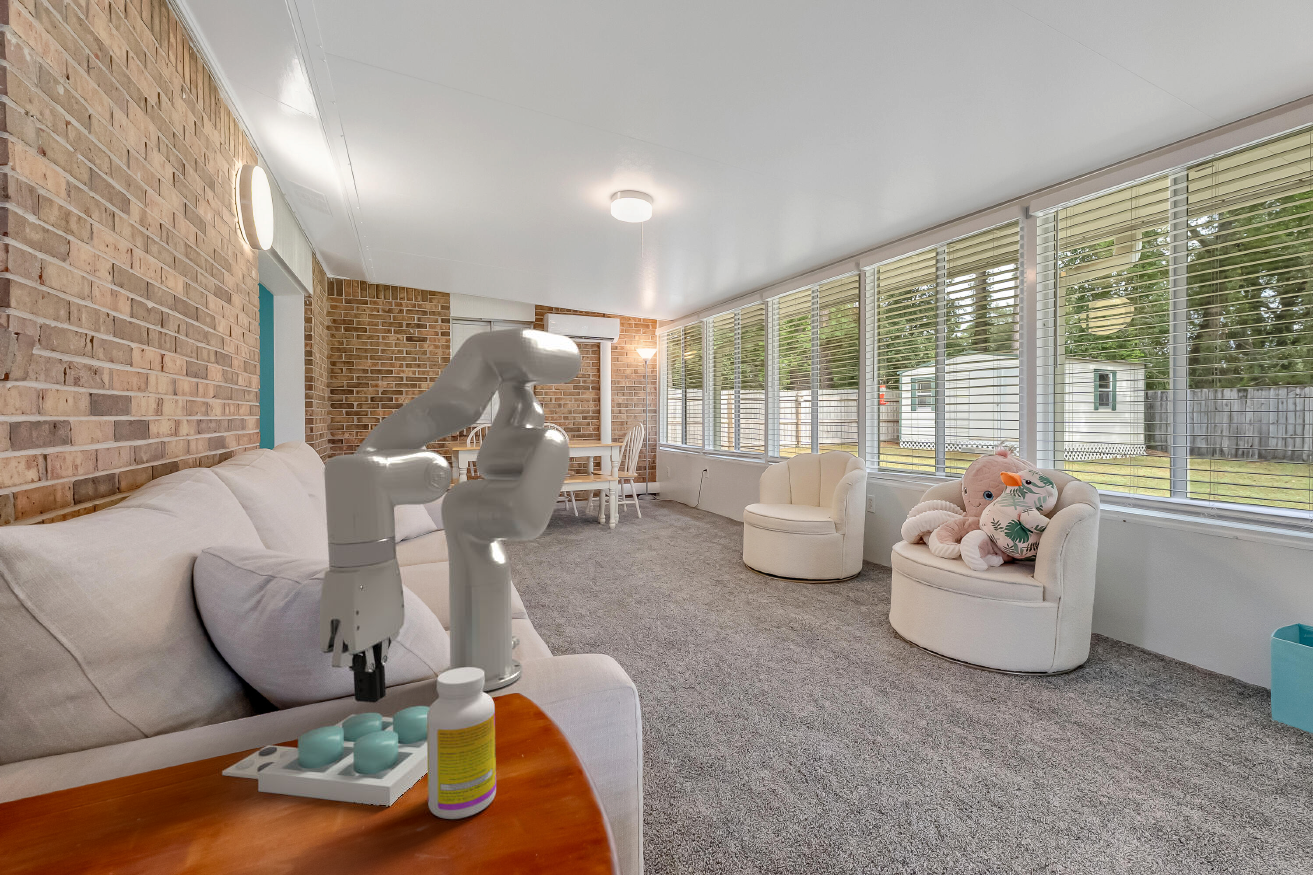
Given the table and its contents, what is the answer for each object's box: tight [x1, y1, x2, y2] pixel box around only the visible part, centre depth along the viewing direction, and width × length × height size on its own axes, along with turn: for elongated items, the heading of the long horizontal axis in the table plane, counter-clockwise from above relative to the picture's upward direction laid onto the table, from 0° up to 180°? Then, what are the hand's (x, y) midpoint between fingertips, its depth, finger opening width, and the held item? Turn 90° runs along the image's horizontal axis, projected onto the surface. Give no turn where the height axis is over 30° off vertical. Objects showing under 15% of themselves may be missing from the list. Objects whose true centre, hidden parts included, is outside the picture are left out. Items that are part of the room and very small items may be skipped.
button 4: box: [392, 705, 430, 744], centre depth 70 cm, size 4×4×2 cm
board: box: [257, 714, 428, 807], centre depth 67 cm, size 14×16×2 cm
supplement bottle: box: [427, 667, 497, 820], centre depth 60 cm, size 7×7×13 cm
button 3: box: [353, 731, 398, 774], centre depth 64 cm, size 4×4×2 cm
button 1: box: [297, 725, 344, 768], centre depth 65 cm, size 4×4×2 cm
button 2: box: [342, 712, 383, 742], centre depth 71 cm, size 4×4×2 cm
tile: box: [221, 744, 298, 780], centre depth 68 cm, size 6×6×1 cm
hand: (370, 698), depth 73 cm, fingers closed
